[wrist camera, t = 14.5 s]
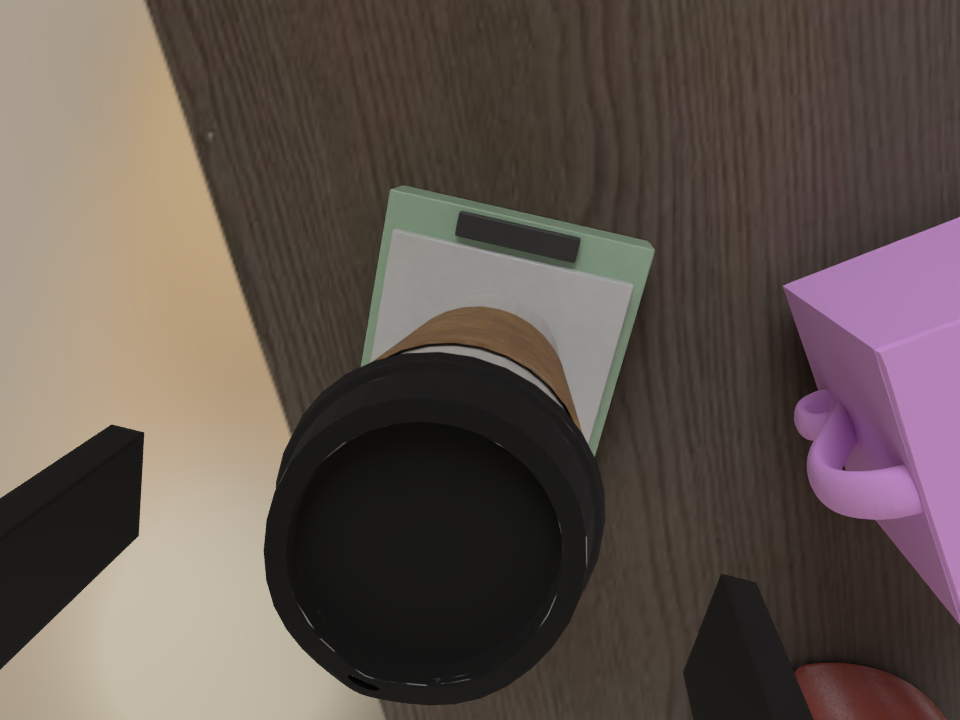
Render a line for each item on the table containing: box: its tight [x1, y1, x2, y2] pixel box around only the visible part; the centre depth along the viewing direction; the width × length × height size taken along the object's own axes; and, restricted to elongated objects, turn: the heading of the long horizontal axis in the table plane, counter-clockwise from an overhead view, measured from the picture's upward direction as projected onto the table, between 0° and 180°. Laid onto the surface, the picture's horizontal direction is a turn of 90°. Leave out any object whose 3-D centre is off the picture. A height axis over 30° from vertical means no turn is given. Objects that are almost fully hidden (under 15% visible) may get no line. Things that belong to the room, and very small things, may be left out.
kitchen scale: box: [361, 185, 655, 457], centre depth 31 cm, size 11×12×3 cm
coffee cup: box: [264, 294, 605, 705], centre depth 23 cm, size 8×8×15 cm
